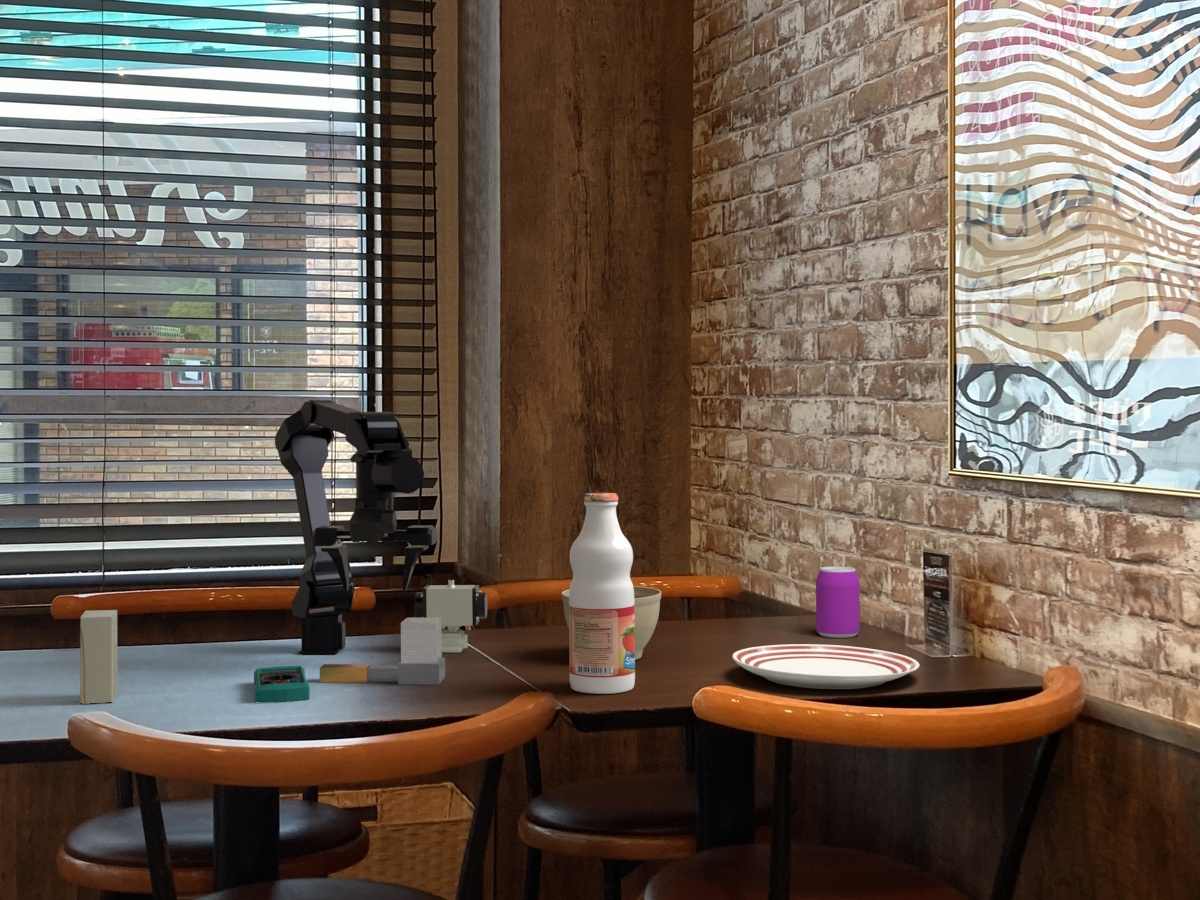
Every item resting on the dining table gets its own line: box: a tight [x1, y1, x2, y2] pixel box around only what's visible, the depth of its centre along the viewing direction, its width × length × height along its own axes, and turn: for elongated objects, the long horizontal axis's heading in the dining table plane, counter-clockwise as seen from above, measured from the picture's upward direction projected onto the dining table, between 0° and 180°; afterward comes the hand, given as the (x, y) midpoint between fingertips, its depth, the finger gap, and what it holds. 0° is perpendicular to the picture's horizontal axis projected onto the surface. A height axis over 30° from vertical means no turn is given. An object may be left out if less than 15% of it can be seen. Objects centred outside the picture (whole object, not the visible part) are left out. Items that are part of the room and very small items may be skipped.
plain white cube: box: [400, 617, 443, 664], centre depth 192 cm, size 5×5×6 cm
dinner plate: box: [731, 643, 920, 690], centre depth 192 cm, size 28×27×3 cm
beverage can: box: [815, 565, 861, 639], centre depth 230 cm, size 8×8×12 cm
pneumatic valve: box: [414, 579, 489, 654], centre depth 217 cm, size 6×12×12 cm, turn 89°
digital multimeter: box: [253, 665, 311, 703], centre depth 184 cm, size 7×15×3 cm, turn 16°
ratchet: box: [319, 656, 446, 686], centre depth 192 cm, size 18×6×6 cm, turn 88°
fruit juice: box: [568, 492, 636, 695], centre depth 185 cm, size 9×9×28 cm
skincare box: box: [79, 609, 118, 705], centre depth 180 cm, size 6×4×12 cm
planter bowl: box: [561, 585, 662, 661], centre depth 209 cm, size 16×16×11 cm
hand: (375, 590), depth 203 cm, fingers open, 9 cm apart
